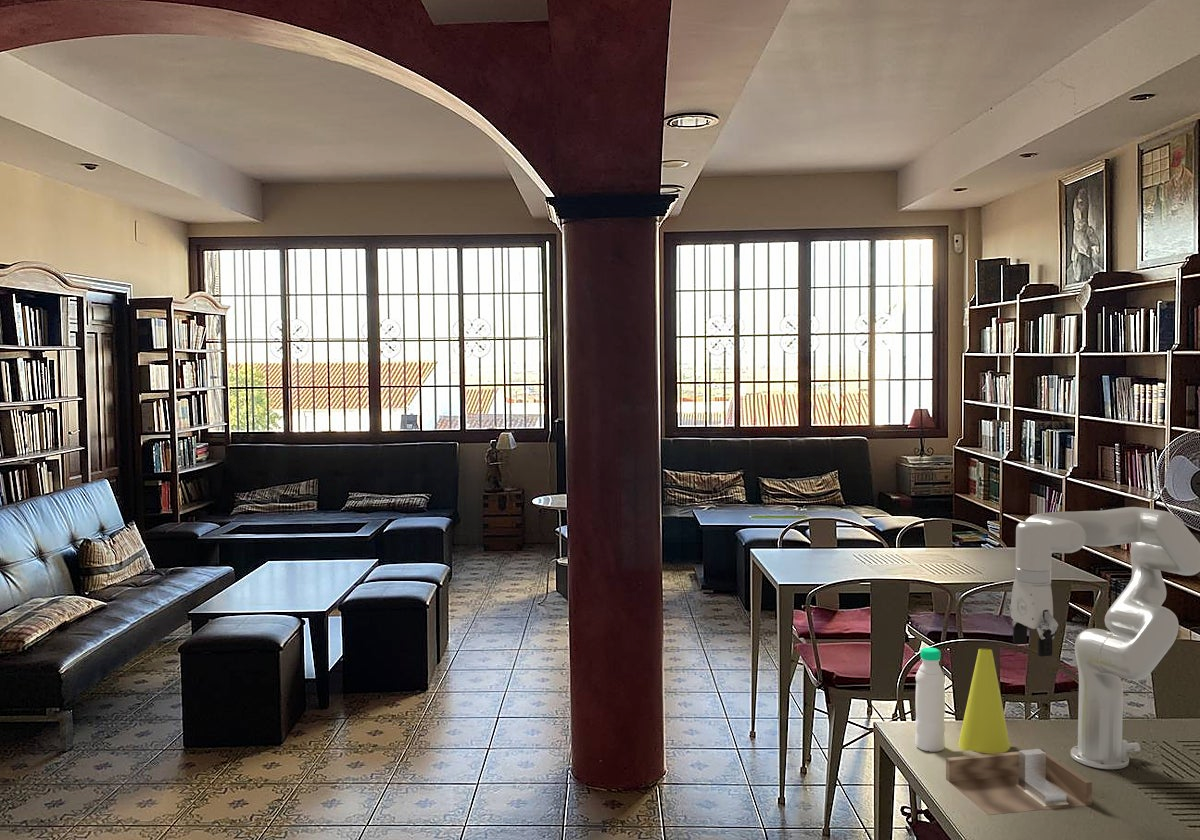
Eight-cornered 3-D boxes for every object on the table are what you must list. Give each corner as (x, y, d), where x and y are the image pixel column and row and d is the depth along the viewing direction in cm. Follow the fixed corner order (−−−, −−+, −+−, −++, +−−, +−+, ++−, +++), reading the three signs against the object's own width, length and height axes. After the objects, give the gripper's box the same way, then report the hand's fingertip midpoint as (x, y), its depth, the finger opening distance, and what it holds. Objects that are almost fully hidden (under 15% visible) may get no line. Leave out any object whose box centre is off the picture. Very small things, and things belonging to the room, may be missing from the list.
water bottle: (946, 753, 246) (947, 654, 244) (916, 751, 247) (917, 652, 245) (942, 742, 252) (943, 645, 251) (913, 740, 254) (914, 644, 252)
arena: (1041, 774, 233) (1042, 749, 232) (1091, 809, 215) (1092, 782, 215) (945, 783, 229) (946, 757, 229) (988, 819, 211) (988, 791, 211)
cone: (958, 735, 257) (959, 640, 255) (1010, 741, 252) (1011, 644, 251) (957, 753, 245) (958, 654, 244) (1011, 760, 241) (1012, 659, 239)
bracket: (1018, 785, 225) (1018, 750, 224) (1038, 783, 226) (1039, 748, 225) (1045, 805, 215) (1045, 769, 214) (1066, 802, 216) (1067, 767, 215)
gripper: (997, 568, 236) (996, 639, 237) (1040, 585, 219) (1039, 662, 220) (1026, 567, 237) (1025, 637, 238) (1071, 583, 220) (1070, 659, 221)
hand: (1032, 649), depth 229 cm, fingers open, 9 cm apart
